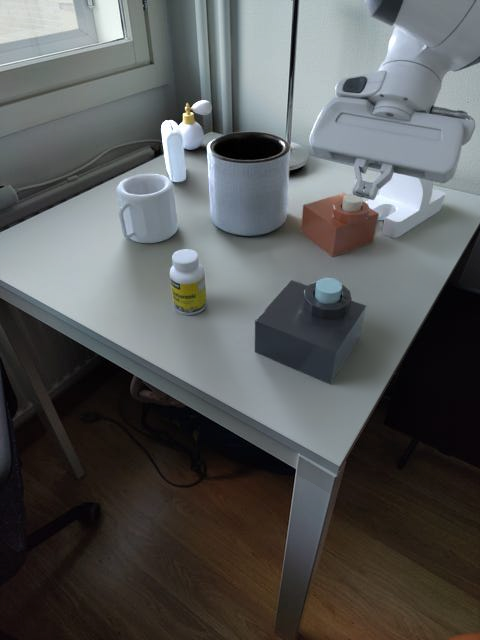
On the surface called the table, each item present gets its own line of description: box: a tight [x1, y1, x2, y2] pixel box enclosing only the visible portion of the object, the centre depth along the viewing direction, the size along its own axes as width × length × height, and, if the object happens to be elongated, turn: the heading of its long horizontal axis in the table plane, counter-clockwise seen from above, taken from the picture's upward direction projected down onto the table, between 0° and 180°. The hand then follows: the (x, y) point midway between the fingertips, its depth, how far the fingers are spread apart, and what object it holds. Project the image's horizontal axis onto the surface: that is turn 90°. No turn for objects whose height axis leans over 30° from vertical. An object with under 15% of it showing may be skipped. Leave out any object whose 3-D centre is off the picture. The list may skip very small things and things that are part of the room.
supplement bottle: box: [169, 248, 208, 316], centre depth 73 cm, size 5×5×10 cm
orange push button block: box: [300, 192, 379, 258], centre depth 88 cm, size 11×10×8 cm
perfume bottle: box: [178, 99, 213, 151], centre depth 124 cm, size 8×10×12 cm
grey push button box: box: [254, 279, 367, 385], centre depth 66 cm, size 12×12×8 cm
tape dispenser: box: [364, 173, 446, 239], centre depth 94 cm, size 10×18×11 cm, turn 132°
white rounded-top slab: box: [160, 119, 187, 183], centre depth 111 cm, size 10×4×12 cm, turn 15°
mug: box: [116, 173, 179, 244], centre depth 90 cm, size 14×11×10 cm
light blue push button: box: [315, 277, 343, 304], centre depth 64 cm, size 4×4×2 cm
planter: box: [206, 130, 291, 237], centre depth 92 cm, size 16×16×16 cm
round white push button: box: [342, 193, 363, 212], centre depth 84 cm, size 3×3×2 cm
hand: (362, 196), depth 64 cm, fingers closed
